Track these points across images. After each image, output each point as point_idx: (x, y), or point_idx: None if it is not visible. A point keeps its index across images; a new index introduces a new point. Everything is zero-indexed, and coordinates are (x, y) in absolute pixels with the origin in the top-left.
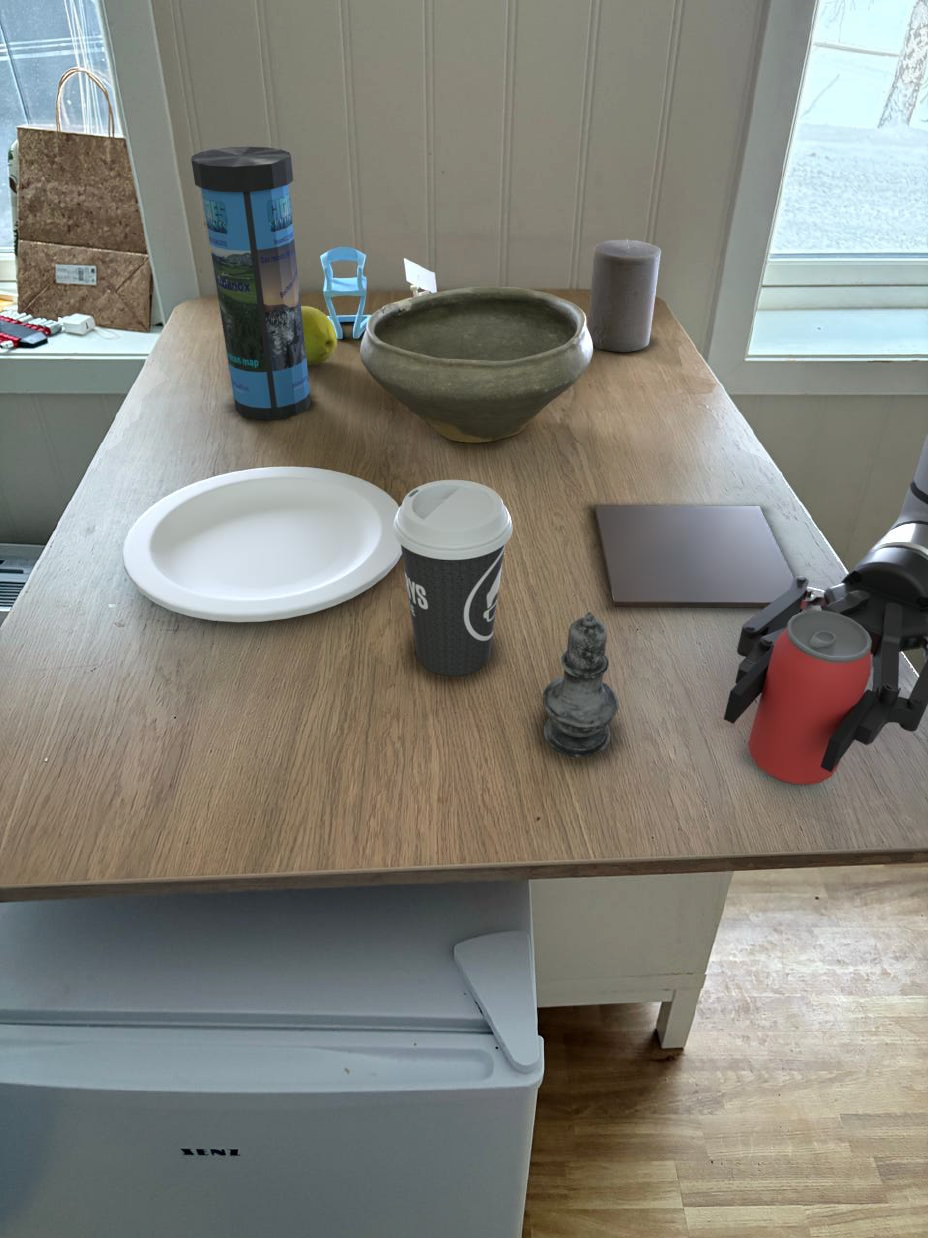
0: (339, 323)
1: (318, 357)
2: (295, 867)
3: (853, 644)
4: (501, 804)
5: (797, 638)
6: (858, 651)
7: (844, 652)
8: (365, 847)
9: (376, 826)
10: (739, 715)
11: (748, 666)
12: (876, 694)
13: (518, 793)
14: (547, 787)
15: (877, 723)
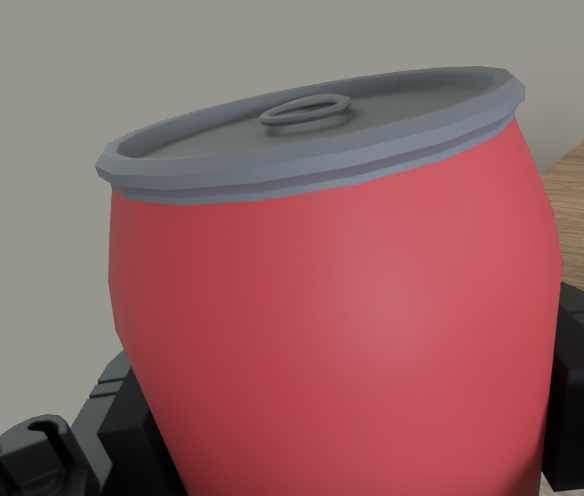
0: None
1: None
2: (555, 165)
3: (185, 153)
4: (558, 240)
5: (387, 96)
6: (158, 151)
7: (210, 134)
8: (554, 183)
9: (577, 188)
10: None
11: (562, 304)
12: (103, 425)
13: (569, 252)
14: (565, 271)
15: (107, 375)
